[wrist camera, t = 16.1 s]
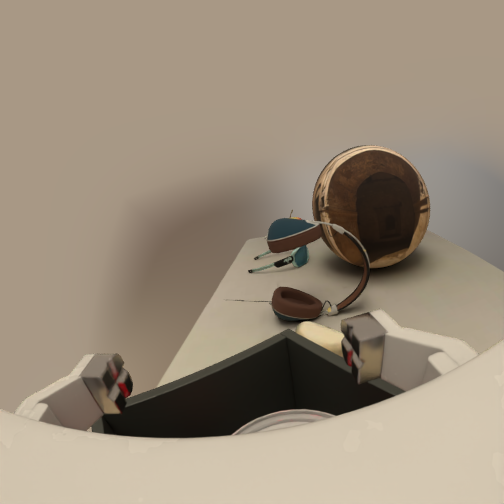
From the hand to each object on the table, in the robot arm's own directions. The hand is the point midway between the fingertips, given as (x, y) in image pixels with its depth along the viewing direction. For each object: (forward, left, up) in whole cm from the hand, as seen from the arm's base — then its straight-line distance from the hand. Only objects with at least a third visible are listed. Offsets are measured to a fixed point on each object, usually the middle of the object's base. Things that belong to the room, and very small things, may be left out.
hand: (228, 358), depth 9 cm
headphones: (+20, +22, -15) cm, 33 cm away
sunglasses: (+35, +47, -15) cm, 61 cm away
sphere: (+45, +25, -15) cm, 54 cm away
